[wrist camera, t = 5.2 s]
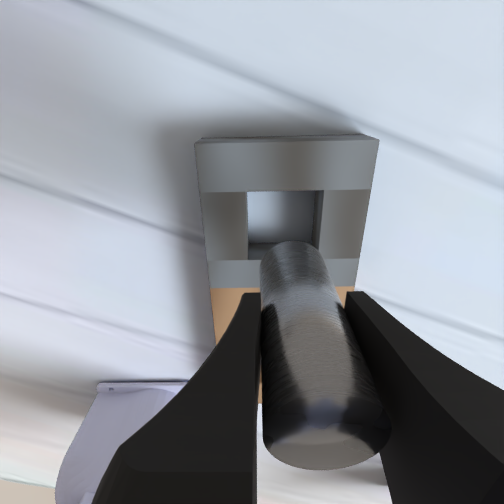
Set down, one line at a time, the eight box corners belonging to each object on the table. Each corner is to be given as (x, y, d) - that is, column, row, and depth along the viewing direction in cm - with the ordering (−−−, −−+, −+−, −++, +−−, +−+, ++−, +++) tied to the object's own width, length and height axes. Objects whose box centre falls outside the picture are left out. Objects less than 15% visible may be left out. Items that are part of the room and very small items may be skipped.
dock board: (225, 379, 28) (222, 403, 26) (201, 138, 18) (194, 144, 16) (328, 379, 28) (334, 403, 26) (364, 134, 18) (379, 139, 16)
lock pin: (260, 297, 15) (264, 470, 8) (258, 241, 14) (261, 395, 7) (322, 295, 15) (380, 469, 8) (327, 239, 14) (403, 393, 7)
